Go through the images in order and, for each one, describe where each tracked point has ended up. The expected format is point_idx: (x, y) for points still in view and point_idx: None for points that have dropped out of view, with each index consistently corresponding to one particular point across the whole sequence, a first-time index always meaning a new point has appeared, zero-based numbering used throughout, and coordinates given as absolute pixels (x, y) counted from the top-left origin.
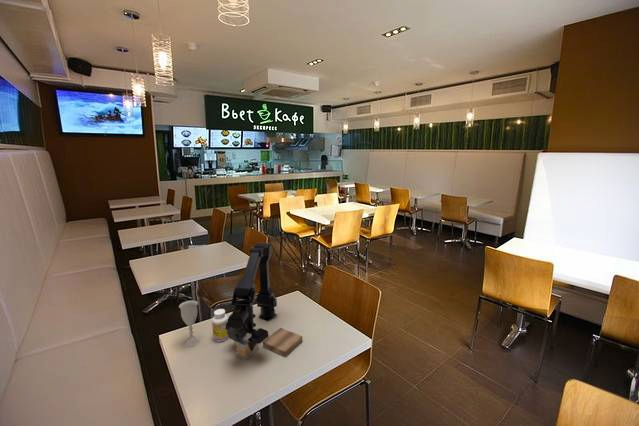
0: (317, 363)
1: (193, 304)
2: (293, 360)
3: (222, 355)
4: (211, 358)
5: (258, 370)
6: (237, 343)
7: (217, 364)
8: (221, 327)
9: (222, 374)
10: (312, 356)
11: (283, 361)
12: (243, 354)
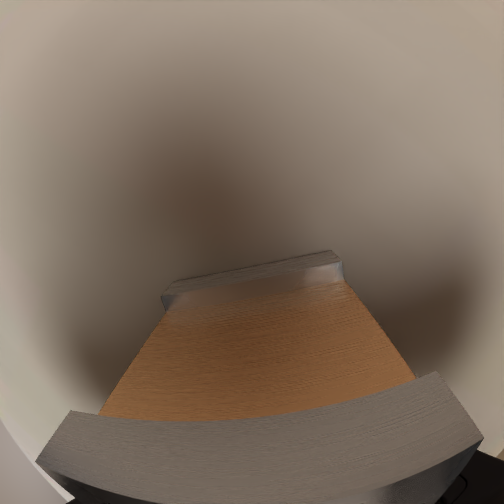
0: (17, 437)
1: None
2: (42, 431)
3: (446, 149)
4: (461, 63)
5: (18, 283)
6: (343, 434)
7: (352, 28)
8: None
9: (169, 4)
10: None
11: (45, 414)
12: (200, 319)
